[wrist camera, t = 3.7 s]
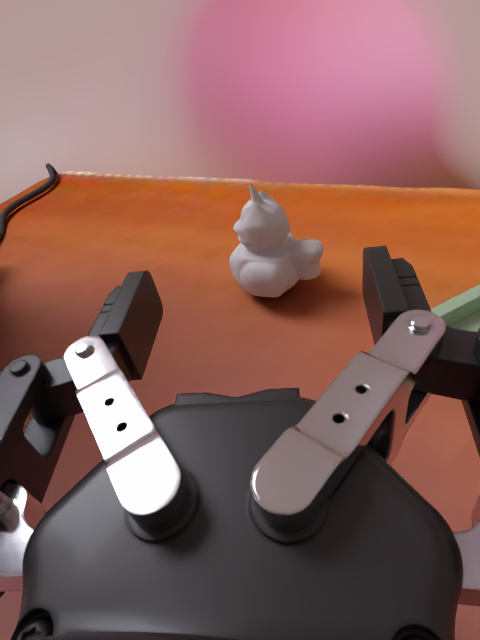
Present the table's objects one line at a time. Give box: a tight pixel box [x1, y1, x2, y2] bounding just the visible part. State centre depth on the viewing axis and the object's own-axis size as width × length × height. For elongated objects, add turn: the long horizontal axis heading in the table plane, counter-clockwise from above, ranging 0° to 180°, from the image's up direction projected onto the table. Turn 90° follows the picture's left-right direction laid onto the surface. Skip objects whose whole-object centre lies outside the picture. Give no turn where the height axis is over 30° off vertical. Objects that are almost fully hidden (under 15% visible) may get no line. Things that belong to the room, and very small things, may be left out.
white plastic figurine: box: [229, 183, 323, 297], centre depth 27 cm, size 5×7×8 cm
